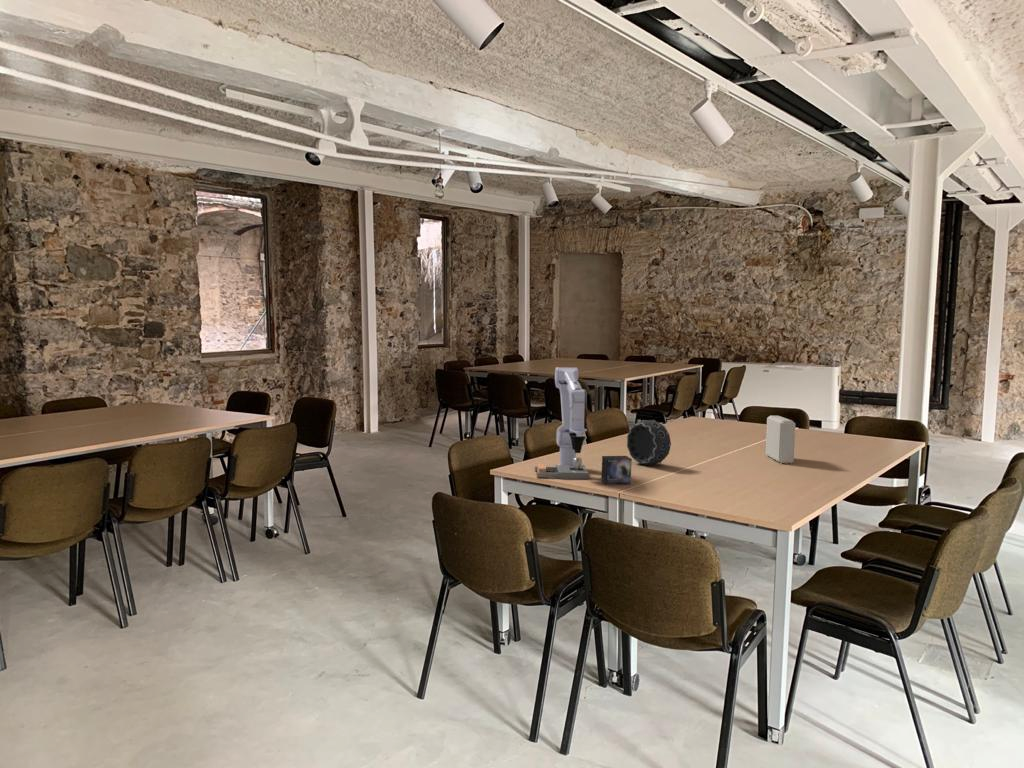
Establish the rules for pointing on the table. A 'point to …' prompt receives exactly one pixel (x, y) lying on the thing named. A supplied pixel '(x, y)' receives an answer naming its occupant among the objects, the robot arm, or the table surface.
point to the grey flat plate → (565, 472)
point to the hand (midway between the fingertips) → (576, 451)
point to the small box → (616, 470)
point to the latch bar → (541, 468)
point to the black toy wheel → (648, 442)
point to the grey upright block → (780, 439)
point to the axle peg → (577, 463)
